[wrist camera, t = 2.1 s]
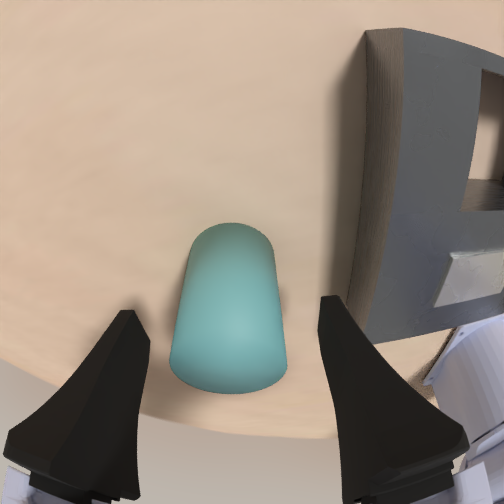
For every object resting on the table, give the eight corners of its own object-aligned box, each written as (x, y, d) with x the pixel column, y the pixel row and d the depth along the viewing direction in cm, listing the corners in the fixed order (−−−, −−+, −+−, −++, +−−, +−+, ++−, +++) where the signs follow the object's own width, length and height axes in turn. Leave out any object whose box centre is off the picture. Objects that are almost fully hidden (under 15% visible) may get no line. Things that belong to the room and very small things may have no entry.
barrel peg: (275, 285, 16) (287, 390, 11) (199, 291, 16) (186, 394, 11) (272, 219, 13) (287, 329, 8) (182, 227, 13) (153, 336, 9)
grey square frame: (495, 279, 16) (516, 311, 14) (346, 304, 17) (360, 349, 14) (548, 84, 8) (588, 103, 5) (365, 30, 8) (406, 27, 6)
